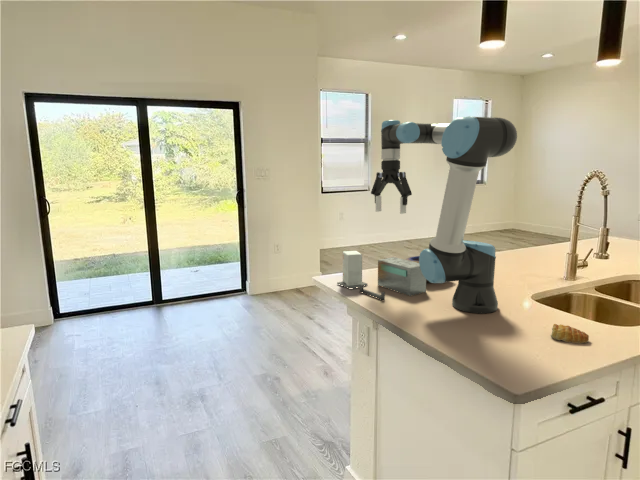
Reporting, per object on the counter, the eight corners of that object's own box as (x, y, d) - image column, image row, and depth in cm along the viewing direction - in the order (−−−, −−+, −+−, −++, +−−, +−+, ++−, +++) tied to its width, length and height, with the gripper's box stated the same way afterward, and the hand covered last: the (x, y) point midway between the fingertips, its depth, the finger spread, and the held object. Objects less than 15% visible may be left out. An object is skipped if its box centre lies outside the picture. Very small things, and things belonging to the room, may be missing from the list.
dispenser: (425, 291, 167) (426, 264, 165) (387, 302, 155) (387, 273, 153) (393, 281, 181) (393, 256, 180) (355, 291, 169) (355, 264, 167)
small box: (362, 285, 174) (362, 254, 172) (347, 286, 173) (347, 255, 170) (356, 279, 182) (356, 250, 179) (342, 280, 180) (342, 251, 178)
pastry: (587, 338, 122) (588, 325, 121) (588, 347, 116) (590, 334, 116) (550, 332, 127) (551, 320, 126) (550, 340, 121) (551, 328, 120)
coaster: (367, 285, 176) (367, 283, 176) (350, 289, 171) (350, 287, 171) (353, 281, 184) (353, 278, 183) (337, 284, 178) (337, 282, 178)
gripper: (421, 158, 163) (420, 213, 167) (375, 161, 183) (375, 209, 186) (408, 158, 159) (407, 215, 162) (362, 161, 178) (362, 211, 182)
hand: (390, 212), depth 174 cm, fingers open, 13 cm apart
